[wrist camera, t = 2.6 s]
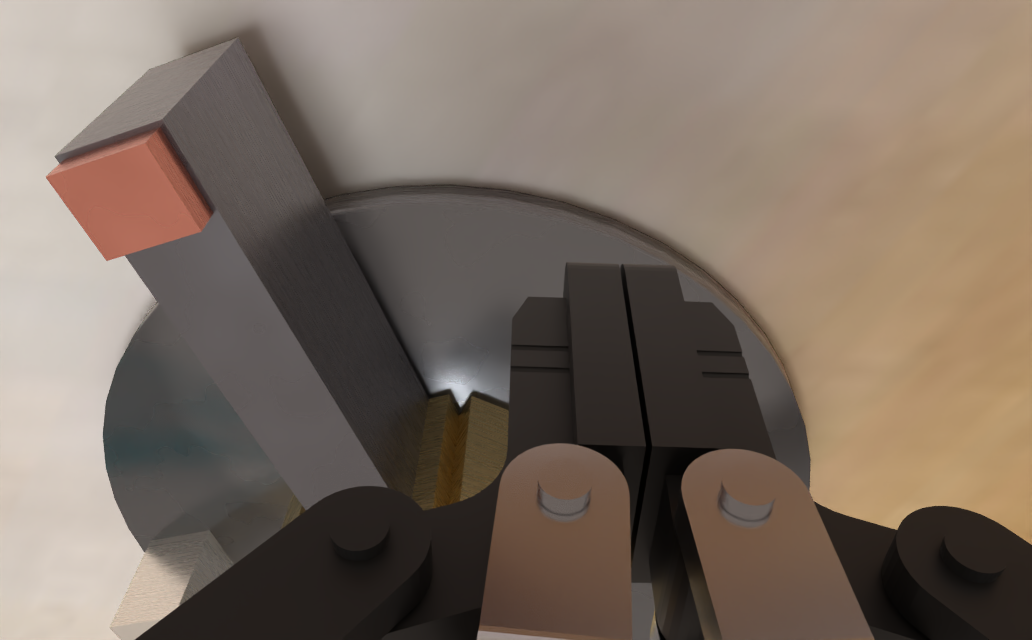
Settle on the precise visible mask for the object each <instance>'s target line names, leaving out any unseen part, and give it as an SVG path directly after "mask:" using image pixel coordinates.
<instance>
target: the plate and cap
mask: <svg viewBox="0 0 1032 640" xmlns="http://www.w3.org/2000/svg"><path fill="white" fill-rule="evenodd" d="M324 201H325V203H326V205H327V207H328V209H329V211H330V213H331V214H332V216H333V218H334V220H335V222H336V224H337V226H338V228H339V230H340V232H341V233H342V235H343V237H344V239H345V241H346V243H347V245H348V247H349V249H350V251H351V252H352V254H353V256H354V258H355V260H356V262H357V264H358V266H359V268H360V269H361V271H362V273H363V275H364V277H365V279H366V281H367V283H368V285H369V287H370V288H371V290H372V292H373V294H374V296H375V298H376V300H377V302H378V304H379V306H380V307H381V309H382V311H383V313H384V315H385V317H386V319H387V321H388V323H389V324H390V326H391V328H392V330H393V332H394V334H395V336H396V338H397V340H398V342H399V343H400V345H401V347H402V349H403V351H404V353H405V355H406V357H407V359H408V361H409V362H410V364H411V366H412V368H413V370H414V372H415V374H416V376H417V378H418V379H419V381H420V383H421V385H422V387H423V389H424V391H425V393H426V395H427V397H428V398H429V399H431V398H436V397H440V396H444V395H448V394H449V396H450V398H451V400H452V402H453V404H454V405H455V407H456V409H457V411H458V413H459V415H460V414H461V412H462V411H463V409H464V407H465V406H466V404H467V402H468V401H469V399H470V398H471V396H473V397H476V398H478V399H481V400H484V401H486V402H489V403H491V404H494V405H497V406H499V407H502V408H504V409H507V410H509V392H510V364H511V336H512V318H513V317H514V315H515V314H516V313H517V311H518V310H519V308H520V307H521V306H522V304H523V303H524V302H525V300H526V299H527V297H558V298H563V289H564V276H565V266H566V262H580V263H611V264H619V267H621V265H622V264H648V265H674V266H675V267H676V269H677V273H678V277H679V281H680V285H681V289H682V293H683V297H684V301H689V302H712V303H713V304H714V305H715V306H716V307H717V308H718V309H719V310H720V311H721V312H722V313H723V314H724V315H725V317H726V318H727V319H728V320H729V321H730V322H731V323H732V324H733V325H734V327H735V330H736V333H737V336H738V339H739V343H740V346H741V349H742V357H744V358H745V362H746V365H747V368H748V371H749V379H751V381H752V384H753V387H754V390H755V393H756V397H757V400H758V403H759V406H760V409H761V412H762V416H763V419H764V422H765V425H766V428H767V431H768V435H769V438H770V441H771V444H772V447H773V451H774V454H775V457H776V460H777V461H779V462H780V463H782V464H784V465H785V466H786V467H788V468H789V469H791V470H792V471H793V472H794V473H795V474H796V475H797V476H798V477H799V478H800V479H801V480H802V482H803V483H804V484H805V485H806V487H807V489H808V491H809V487H810V454H809V447H808V441H807V435H806V429H805V424H804V421H803V419H802V416H801V413H800V410H799V408H798V405H797V402H796V399H795V396H794V394H793V391H792V388H791V385H790V383H789V380H788V377H787V374H786V372H785V369H784V366H783V364H782V363H781V361H780V359H779V358H778V356H777V354H776V352H775V351H774V349H773V347H772V346H771V344H770V342H769V340H768V339H767V337H766V335H765V333H764V332H763V331H762V330H761V328H760V327H759V326H758V325H757V324H756V322H755V321H754V320H753V319H752V317H751V316H750V315H749V314H748V313H747V311H746V310H745V309H744V308H743V307H742V305H741V304H740V303H739V302H738V301H737V299H735V298H734V297H733V296H732V295H731V294H730V293H729V292H728V291H726V290H725V289H724V288H723V287H722V286H721V285H720V284H719V283H717V282H716V281H715V280H714V279H713V278H712V277H711V276H709V275H708V274H707V273H706V272H705V271H704V270H703V269H701V268H700V267H698V266H697V265H695V264H694V263H692V262H691V261H689V260H688V259H686V258H685V257H683V256H682V255H680V254H679V253H677V252H676V251H674V250H673V249H671V248H670V247H668V246H666V245H665V244H663V243H662V242H660V241H658V240H656V239H654V238H652V237H650V236H648V235H646V234H644V233H641V232H639V231H637V230H635V229H633V228H631V227H629V226H627V225H625V224H623V223H621V222H619V221H617V220H615V219H612V218H609V217H606V216H603V215H600V214H597V213H594V212H591V211H588V210H585V209H582V208H579V207H576V206H574V205H571V204H568V203H565V202H561V201H556V200H552V199H547V198H542V197H537V196H533V195H528V194H523V193H518V192H514V191H509V190H499V189H488V188H477V187H466V186H455V185H441V186H405V187H391V188H384V189H377V190H371V191H364V192H357V193H351V194H344V195H339V196H336V197H332V198H328V199H325V200H324ZM103 442H104V452H105V463H106V470H107V473H108V477H109V480H110V484H111V487H112V491H113V494H114V498H115V500H116V502H117V505H118V507H119V509H120V511H121V513H122V515H123V517H124V519H125V522H126V524H127V526H128V528H129V530H130V531H131V533H132V534H133V536H134V537H135V539H136V540H137V542H138V543H139V545H140V546H141V548H142V549H143V551H144V552H145V554H144V556H143V558H142V560H141V562H140V564H139V566H138V569H137V571H136V573H135V575H134V577H133V579H132V581H131V583H130V585H129V588H128V590H127V592H126V594H125V596H124V598H123V600H122V602H121V604H120V607H119V609H118V611H117V613H116V615H115V617H114V619H113V621H112V623H111V626H110V629H111V630H112V631H113V632H114V633H115V634H116V635H117V636H118V637H119V638H120V639H121V640H135V639H136V638H138V637H139V636H140V635H141V634H143V633H144V632H145V631H147V630H148V629H149V628H151V627H152V626H153V625H155V624H156V623H157V622H159V621H160V620H161V619H163V618H164V617H165V616H167V615H168V614H169V613H171V612H172V611H173V610H175V609H176V608H177V607H179V606H180V605H181V604H183V603H184V602H185V601H187V600H188V599H189V598H191V597H192V596H193V595H195V594H196V593H197V592H199V591H200V590H201V589H203V588H204V587H205V586H207V585H208V584H209V583H211V582H212V581H213V580H215V579H216V578H217V577H218V576H220V575H221V574H222V573H224V572H225V571H226V570H228V569H229V568H230V567H232V566H233V565H234V564H236V563H237V562H238V561H240V560H241V559H242V558H244V557H245V556H246V555H248V554H249V553H250V552H252V551H253V550H254V549H256V548H257V547H258V546H260V545H261V544H262V543H264V542H265V541H266V540H268V539H269V538H270V537H272V536H273V535H274V534H276V533H277V532H278V531H280V530H281V528H282V525H283V522H284V519H285V515H286V512H287V509H288V506H289V503H290V501H291V499H292V497H293V495H294V493H293V492H292V490H291V489H290V487H289V486H288V485H287V483H286V482H285V480H284V479H283V478H282V476H281V475H280V473H279V472H278V471H277V469H276V468H275V466H274V465H273V464H272V462H271V461H270V459H269V458H268V456H267V455H266V454H265V452H264V451H263V449H262V448H261V447H260V445H259V444H258V442H257V441H256V440H255V438H254V437H253V435H252V434H251V433H250V431H249V430H248V428H247V427H246V425H245V424H244V423H243V421H242V420H241V418H240V417H239V416H238V414H237V413H236V411H235V410H234V409H233V407H232V406H231V404H230V403H229V402H228V400H227V399H226V397H225V396H224V394H223V393H222V392H221V390H220V389H219V387H218V386H217V385H216V383H215V382H214V380H213V379H212V378H211V376H210V375H209V373H208V372H207V371H206V369H205V368H204V366H203V365H202V363H201V362H200V361H199V359H198V358H197V356H196V355H195V354H194V352H193V351H192V349H191V348H190V347H189V345H188V344H187V342H186V341H185V340H184V338H183V337H182V335H181V334H180V332H179V331H178V330H177V328H176V327H175V325H174V324H173V323H172V321H171V320H170V318H169V317H168V316H167V314H166V313H165V311H164V310H163V309H162V307H161V306H160V304H159V303H158V302H157V303H156V304H155V306H154V307H153V308H152V309H151V310H150V312H149V313H148V315H147V316H146V318H145V319H144V321H143V322H142V324H141V325H140V327H139V328H138V330H137V331H136V333H135V335H134V336H133V338H132V340H131V342H130V344H129V346H128V347H127V349H126V351H125V353H124V355H123V357H122V358H121V360H120V362H119V364H118V366H117V368H116V371H115V374H114V377H113V381H112V384H111V387H110V390H109V394H108V397H107V400H106V408H105V418H104V428H103ZM631 589H632V638H633V640H650V630H651V625H652V620H653V616H654V611H655V605H654V597H653V590H652V583H631Z"/></svg>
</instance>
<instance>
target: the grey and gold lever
mask: <svg viewBox="0 0 1032 640" xmlns="http://www.w3.org/2000/svg"><path fill="white" fill-rule="evenodd" d="M55 158H56V159H57V161H58V162H59V163H60V164H59V165H58V166H57V167H56V168H55V169H54V170H53V171H51V172H50V173H49V174H48V175H47V176H46V178H47V180H48V181H49V182H50V184H51V185H52V186H53V188H54V189H55V191H56V192H57V193H58V195H59V196H60V197H61V199H62V200H63V202H64V203H65V204H66V206H67V207H68V208H69V210H70V211H71V213H72V214H73V215H74V217H75V218H76V219H77V221H78V222H79V224H80V225H81V226H82V228H83V229H84V230H85V232H86V233H87V235H88V236H89V237H90V239H91V240H92V241H93V243H94V244H95V246H96V247H97V248H98V250H99V251H100V252H101V254H102V255H103V257H104V258H105V259H106V261H108V260H111V259H114V258H118V257H121V256H124V255H125V256H126V258H127V259H128V261H129V262H130V263H131V265H132V266H133V268H134V269H135V270H136V272H137V273H138V275H139V276H140V278H141V279H142V280H143V282H144V283H145V285H146V286H147V287H148V289H149V290H150V292H151V293H152V294H153V296H154V297H155V299H156V300H157V301H158V303H159V304H160V306H161V307H162V309H163V310H164V311H165V313H166V314H167V316H168V317H169V318H170V320H171V321H172V323H173V324H174V325H175V327H176V328H177V330H178V331H179V332H180V334H181V335H182V337H183V338H184V340H185V341H186V342H187V344H188V345H189V347H190V348H191V349H192V351H193V352H194V354H195V355H196V356H197V358H198V359H199V361H200V362H201V363H202V365H203V366H204V368H205V369H206V371H207V372H208V373H209V375H210V376H211V378H212V379H213V380H214V382H215V383H216V385H217V386H218V387H219V389H220V390H221V392H222V393H223V394H224V396H225V397H226V399H227V400H228V402H229V403H230V404H231V406H232V407H233V409H234V410H235V411H236V413H237V414H238V416H239V417H240V418H241V420H242V421H243V423H244V424H245V425H246V427H247V428H248V430H249V431H250V433H251V434H252V435H253V437H254V438H255V440H256V441H257V442H258V444H259V445H260V447H261V448H262V449H263V451H264V452H265V454H266V455H267V456H268V458H269V459H270V461H271V462H272V464H273V465H274V466H275V468H276V469H277V471H278V472H279V473H280V475H281V476H282V478H283V479H284V480H285V482H286V483H287V485H288V486H289V487H290V489H291V490H292V492H293V493H294V495H293V497H292V499H291V501H290V503H289V506H288V509H287V512H286V515H285V519H284V522H283V525H282V528H284V527H285V526H286V525H288V524H289V523H290V522H292V521H293V520H294V519H295V518H297V517H298V516H299V515H301V514H302V513H303V512H305V511H306V510H307V509H309V508H310V507H311V506H313V505H314V504H315V503H317V502H318V501H320V500H322V499H323V498H325V497H327V496H329V495H331V494H333V493H335V492H338V491H341V490H344V489H348V488H353V487H358V486H380V487H385V488H390V489H393V490H396V491H399V492H401V493H403V494H405V495H407V496H408V497H410V498H412V499H413V500H414V501H415V502H416V503H417V504H418V505H419V506H420V507H421V508H422V509H423V511H424V510H428V509H433V508H437V507H441V506H445V505H449V504H453V503H456V502H459V501H463V500H465V499H467V498H470V497H472V496H474V495H476V494H477V493H479V492H480V491H482V490H484V489H485V488H486V487H487V486H488V485H490V484H491V483H492V482H493V481H494V480H495V478H496V477H497V476H498V475H499V473H500V471H501V470H502V468H503V466H504V463H505V461H506V456H507V447H508V419H509V410H507V409H504V408H502V407H499V406H497V405H494V404H491V403H489V402H486V401H484V400H481V399H478V398H476V397H473V396H471V398H470V399H469V401H468V402H467V404H466V406H465V407H464V409H463V411H462V412H461V414H460V415H459V413H458V411H457V409H456V407H455V405H454V404H453V402H452V400H451V398H450V396H449V394H448V395H444V396H440V397H436V398H431V399H429V398H428V397H427V395H426V393H425V391H424V389H423V387H422V385H421V383H420V381H419V379H418V378H417V376H416V374H415V372H414V370H413V368H412V366H411V364H410V362H409V361H408V359H407V357H406V355H405V353H404V351H403V349H402V347H401V345H400V343H399V342H398V340H397V338H396V336H395V334H394V332H393V330H392V328H391V326H390V324H389V323H388V321H387V319H386V317H385V315H384V313H383V311H382V309H381V307H380V306H379V304H378V302H377V300H376V298H375V296H374V294H373V292H372V290H371V288H370V287H369V285H368V283H367V281H366V279H365V277H364V275H363V273H362V271H361V269H360V268H359V266H358V264H357V262H356V260H355V258H354V256H353V254H352V252H351V251H350V249H349V247H348V245H347V243H346V241H345V239H344V237H343V235H342V233H341V232H340V230H339V228H338V226H337V224H336V222H335V220H334V218H333V216H332V214H331V213H330V211H329V209H328V207H327V205H326V203H325V201H324V199H323V197H322V196H321V194H320V192H319V190H318V188H317V186H316V184H315V182H314V180H313V178H312V177H311V175H310V173H309V171H308V169H307V167H306V165H305V163H304V161H303V159H302V158H301V156H300V154H299V152H298V150H297V148H296V146H295V144H294V142H293V141H292V139H291V137H290V135H289V133H288V131H287V129H286V127H285V125H284V123H283V122H282V120H281V118H280V116H279V114H278V112H277V110H276V108H275V106H274V104H273V103H272V101H271V99H270V97H269V95H268V93H267V91H266V89H265V87H264V85H263V84H262V82H261V80H260V78H259V76H258V74H257V72H256V70H255V68H254V67H253V65H252V63H251V61H250V59H249V57H248V55H247V53H246V51H245V49H244V48H243V46H242V44H241V42H240V40H239V38H235V39H232V40H229V41H227V42H224V43H221V44H218V45H216V46H213V47H210V48H207V49H204V50H202V51H199V52H196V53H193V54H191V55H188V56H185V57H182V58H180V59H177V60H174V61H171V62H168V63H166V64H163V65H160V66H157V67H155V68H152V69H149V70H148V71H147V72H146V73H145V74H144V75H143V76H142V77H141V78H140V79H138V80H137V81H136V82H135V83H134V84H133V85H132V86H131V87H130V88H129V89H128V90H126V91H125V92H124V93H123V94H122V95H121V96H120V97H119V98H118V99H117V100H116V101H114V102H113V103H112V104H111V105H110V106H109V107H108V108H107V109H106V110H105V111H104V112H102V113H101V114H100V115H99V116H98V117H97V118H96V119H95V120H94V121H93V122H92V123H90V124H89V125H88V126H87V127H86V128H85V129H84V130H83V131H82V132H81V133H79V134H78V135H77V136H76V137H75V138H74V139H73V140H72V141H71V142H70V143H69V144H67V145H66V146H65V147H64V148H63V149H62V150H61V151H60V152H59V153H58V154H57V155H55ZM282 528H281V529H282ZM632 640H633V638H632Z"/></svg>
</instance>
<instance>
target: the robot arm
mask: <svg viewBox="0 0 1032 640" xmlns="http://www.w3.org/2000/svg"><path fill="white" fill-rule="evenodd" d="M631 583H652V590H653V597H654V605H655V611H654V616H653V620H652V625H651V630H650V640H1032V545H1031V544H1029V543H1028V542H1026V541H1025V540H1023V539H1022V538H1020V537H1019V536H1017V535H1016V534H1014V533H1013V532H1011V531H1010V530H1008V529H1007V528H1005V527H1004V526H1002V525H1000V524H999V523H997V522H995V521H994V520H991V519H989V518H987V517H985V516H983V515H981V514H978V513H975V512H972V511H969V510H965V509H961V508H957V507H948V506H932V507H926V508H922V509H919V510H916V511H914V512H912V513H911V514H909V515H908V516H907V517H906V518H905V519H904V520H903V521H902V522H901V524H900V526H899V528H898V530H895V529H891V528H888V527H884V526H881V525H877V524H874V523H870V522H867V521H863V520H860V519H856V518H853V517H849V516H846V515H843V514H840V513H837V512H834V511H832V510H830V509H828V508H825V507H823V506H821V505H820V504H818V503H816V502H814V501H813V499H812V497H811V494H810V492H809V491H808V489H807V487H806V485H805V484H804V483H803V482H802V480H801V479H800V478H799V477H798V476H797V475H796V474H795V473H794V472H793V471H792V470H791V469H789V468H788V467H786V466H785V465H784V464H782V463H780V462H779V461H777V460H776V457H775V454H774V451H773V447H772V444H771V441H770V438H769V435H768V431H767V428H766V425H765V422H764V419H763V416H762V412H761V409H760V406H759V403H758V400H757V397H756V393H755V390H754V387H753V384H752V381H751V379H749V371H748V368H747V365H746V362H745V358H744V357H742V349H741V346H740V343H739V339H738V336H737V333H736V330H735V327H734V325H733V324H732V323H731V322H730V321H729V320H728V319H727V318H726V317H725V315H724V314H723V313H722V312H721V311H720V310H719V309H718V308H717V307H716V306H715V305H714V304H713V303H712V302H689V301H684V297H683V293H682V289H681V285H680V281H679V277H678V273H677V269H676V267H675V266H674V265H648V264H622V265H621V267H619V264H611V263H580V262H566V266H565V276H564V289H563V298H558V297H527V299H526V300H525V302H524V303H523V304H522V306H521V307H520V308H519V310H518V311H517V313H516V314H515V315H514V317H513V318H512V336H511V364H510V392H509V419H508V447H507V456H506V461H505V463H504V466H503V468H502V470H501V471H500V473H499V475H498V476H497V477H496V478H495V480H494V481H493V482H492V483H491V484H490V485H488V486H487V487H486V488H485V489H484V490H482V491H480V492H479V493H477V494H476V495H474V496H472V497H470V498H467V499H465V500H463V501H459V502H456V503H453V504H449V505H445V506H441V507H437V508H433V509H428V510H424V511H423V509H422V508H421V507H420V506H419V505H418V504H417V503H416V502H415V501H414V500H413V499H412V498H410V497H408V496H407V495H405V494H403V493H401V492H399V491H396V490H393V489H390V488H385V487H380V486H358V487H353V488H348V489H344V490H341V491H338V492H335V493H333V494H331V495H329V496H327V497H325V498H323V499H322V500H320V501H318V502H317V503H315V504H314V505H313V506H311V507H310V508H309V509H307V510H306V511H305V512H303V513H302V514H301V515H299V516H298V517H297V518H295V519H294V520H293V521H292V522H290V523H289V524H288V525H286V526H285V527H284V528H282V529H281V530H280V531H278V532H277V533H276V534H274V535H273V536H272V537H270V538H269V539H268V540H266V541H265V542H264V543H262V544H261V545H260V546H258V547H257V548H256V549H254V550H253V551H252V552H250V553H249V554H248V555H246V556H245V557H244V558H242V559H241V560H240V561H238V562H237V563H236V564H234V565H233V566H232V567H230V568H229V569H228V570H226V571H225V572H224V573H222V574H221V575H220V576H218V577H217V578H216V579H215V580H213V581H212V582H211V583H209V584H208V585H207V586H205V587H204V588H203V589H201V590H200V591H199V592H197V593H196V594H195V595H193V596H192V597H191V598H189V599H188V600H187V601H185V602H184V603H183V604H181V605H180V606H179V607H177V608H176V609H175V610H173V611H172V612H171V613H169V614H168V615H167V616H165V617H164V618H163V619H161V620H160V621H159V622H157V623H156V624H155V625H153V626H152V627H151V628H149V629H148V630H147V631H145V632H144V633H143V634H141V635H140V636H139V637H138V638H136V639H135V640H632V589H631Z"/></svg>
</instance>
